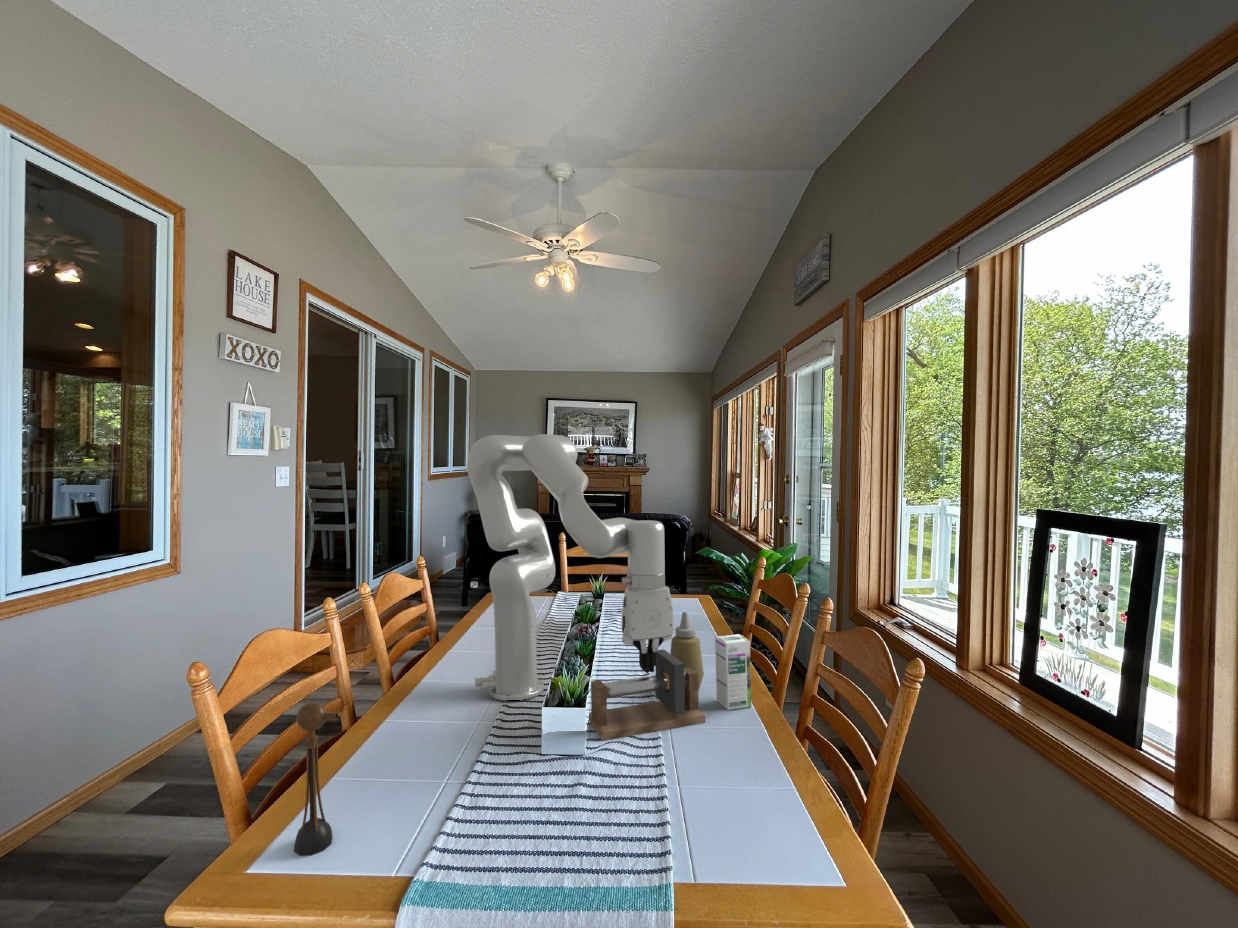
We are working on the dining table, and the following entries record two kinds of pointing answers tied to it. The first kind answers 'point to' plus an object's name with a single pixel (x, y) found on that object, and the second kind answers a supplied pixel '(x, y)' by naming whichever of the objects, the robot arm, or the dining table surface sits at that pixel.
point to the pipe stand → (641, 707)
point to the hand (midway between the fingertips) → (647, 670)
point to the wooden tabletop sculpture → (313, 783)
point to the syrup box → (733, 671)
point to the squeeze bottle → (687, 647)
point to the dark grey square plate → (671, 682)
